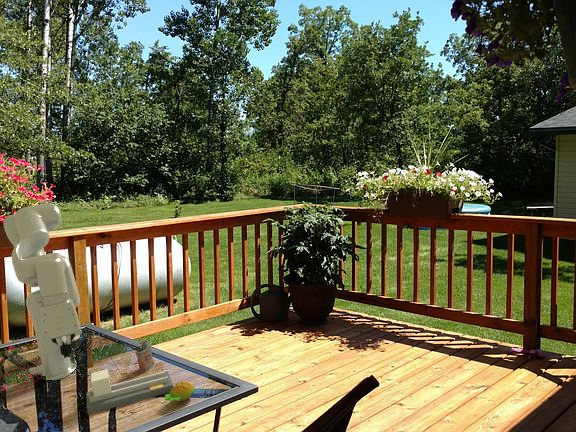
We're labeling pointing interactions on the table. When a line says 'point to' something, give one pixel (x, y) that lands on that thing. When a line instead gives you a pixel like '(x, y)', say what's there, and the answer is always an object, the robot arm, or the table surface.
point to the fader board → (130, 392)
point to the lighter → (144, 356)
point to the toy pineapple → (180, 391)
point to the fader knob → (100, 383)
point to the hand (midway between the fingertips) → (67, 356)
